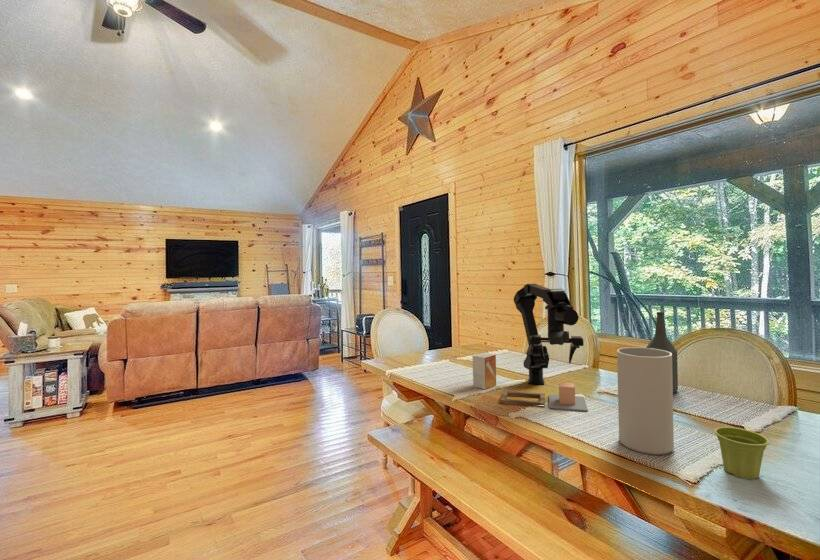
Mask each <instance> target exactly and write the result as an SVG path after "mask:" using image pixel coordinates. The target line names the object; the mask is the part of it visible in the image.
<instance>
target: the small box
mask: <svg viewBox="0 0 820 560" xmlns="http://www.w3.org/2000/svg"><path fill="white" fill-rule="evenodd" d="M496 358H497V357H496V354H494V353H488V352H481V353H478V354H474V355H472V386H473V388H477V387H478V388H477V389H481V388H482V390H487V388H488V389H489V387H490V388H492V386H493V387H495V386H494V385H496V386H497V359H496Z"/></svg>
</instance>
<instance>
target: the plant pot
mask: <svg viewBox="0 0 820 560" xmlns="http://www.w3.org/2000/svg"><path fill="white" fill-rule="evenodd" d="M714 434H715V435H716V437H717V440H718V441H719V447H720V453H721V459H722V463H723V466H722V467H723V469H724V470H725V471H726V473H728V474H732V475H734V476H735V477H737V478H742V479H747V480H754V479H756V478H757V479H758V478H759V477H760V473H761V467H762V463H763V456H764V451H765V450H766V449H767V446H768V445H769V443H770V441H769V439H768V438H767V437H766V436H764V435H762V434H760V433H757V432H755V431H751V430H747V429H743V428H737V427H731V426H720V427H717V428H715V429H714Z"/></svg>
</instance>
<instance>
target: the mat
mask: <svg viewBox="0 0 820 560" xmlns="http://www.w3.org/2000/svg"><path fill="white" fill-rule="evenodd" d="M548 403H549V405H548V406H549V408H554V409H553V410H558V409H562V410H561V411H573V412H583V413H584V412H585V413H588V412H589V409H588V407H587V403H586V399H585V396H578V395H575V405H572V404H560V401H559V394H548Z"/></svg>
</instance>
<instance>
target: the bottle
mask: <svg viewBox="0 0 820 560" xmlns="http://www.w3.org/2000/svg"><path fill="white" fill-rule="evenodd" d="M664 315H665V312H664V311H656V322H655V330H654V331H655V332H654V336H653V337H652V339H651V340H650V341H649V343H648V345H647V346H646V347H645V348H652V349H659V350H664V351H668V352H670V353H672V378H673V392H674V393H676V392H677V391H678V389H679V382H678V381H679V378H678V376H679V374H678V370H679V369H678V350H677V349H676V347H675V346H674V344H673V343H672V342H671V340H670V339H669V338H668V336H667V330H666V322H665V316H664Z"/></svg>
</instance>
